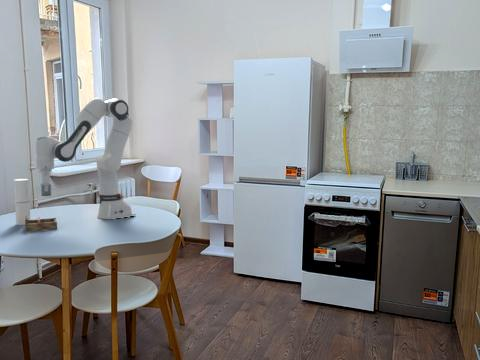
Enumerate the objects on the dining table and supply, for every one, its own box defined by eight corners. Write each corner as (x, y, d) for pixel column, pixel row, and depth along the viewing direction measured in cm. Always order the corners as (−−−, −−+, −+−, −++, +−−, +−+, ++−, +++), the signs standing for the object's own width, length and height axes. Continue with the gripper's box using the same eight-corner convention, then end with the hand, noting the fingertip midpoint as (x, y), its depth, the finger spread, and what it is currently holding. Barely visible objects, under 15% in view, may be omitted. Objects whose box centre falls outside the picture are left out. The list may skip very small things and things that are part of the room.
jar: (51, 194, 231) (51, 183, 230) (51, 195, 226) (51, 184, 225) (41, 194, 229) (40, 183, 228) (41, 196, 224) (40, 184, 223)
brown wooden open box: (56, 224, 228) (55, 213, 227) (57, 229, 219) (56, 217, 218) (26, 227, 221) (25, 215, 220) (25, 232, 212) (25, 219, 211)
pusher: (40, 225, 223) (39, 216, 222) (40, 228, 217) (40, 219, 216) (37, 225, 222) (37, 217, 222) (38, 228, 216) (37, 220, 215)
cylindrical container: (24, 225, 225) (22, 180, 222) (13, 224, 227) (10, 180, 223) (33, 222, 232) (31, 179, 229) (22, 221, 233) (20, 178, 230)
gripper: (52, 167, 217) (53, 193, 219) (51, 163, 235) (52, 187, 237) (38, 167, 214) (40, 193, 216) (39, 163, 233) (40, 187, 235)
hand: (46, 190), depth 227 cm, fingers closed on jar, 5 cm apart
